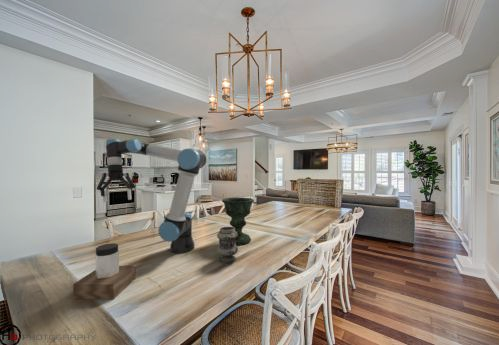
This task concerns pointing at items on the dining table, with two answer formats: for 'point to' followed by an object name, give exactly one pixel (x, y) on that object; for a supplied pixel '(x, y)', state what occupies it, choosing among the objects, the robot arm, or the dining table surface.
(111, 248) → the jar
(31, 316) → the dining table surface
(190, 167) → the robot arm
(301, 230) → the dining table surface
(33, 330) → the dining table surface
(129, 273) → the walnut block
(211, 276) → the dining table surface
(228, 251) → the apothecary jar
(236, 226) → the goblet
